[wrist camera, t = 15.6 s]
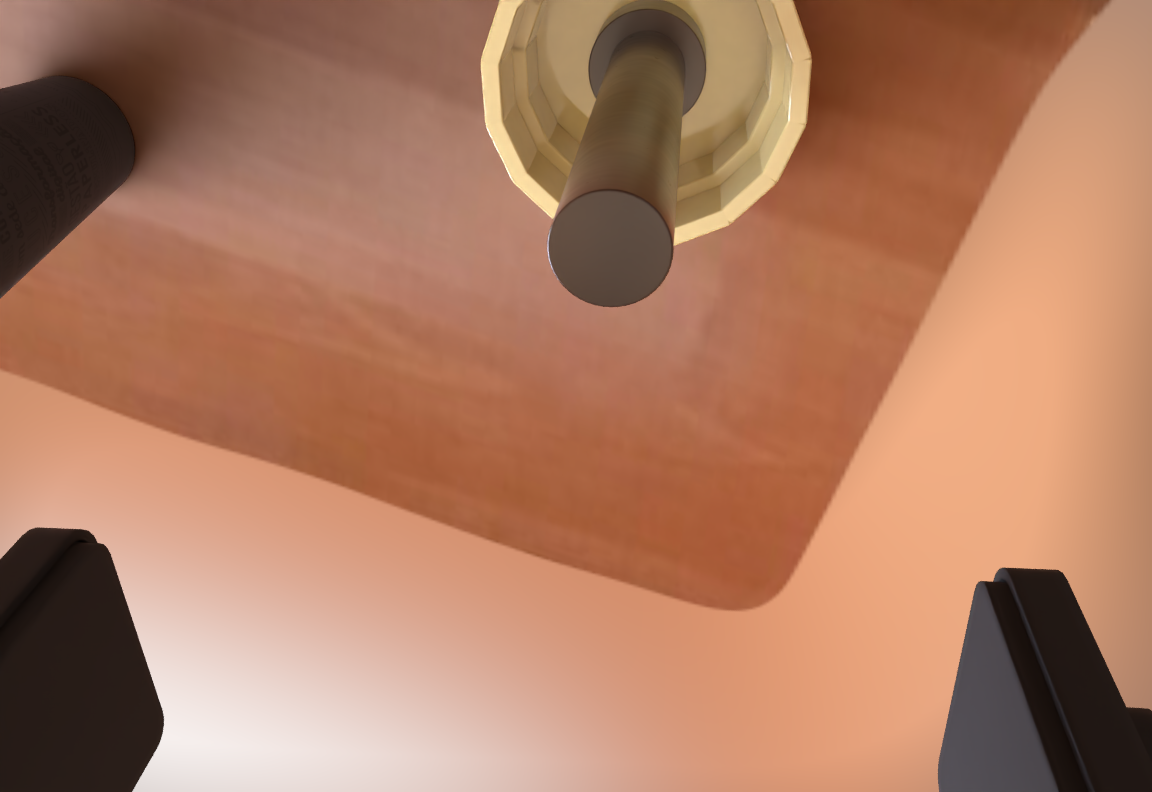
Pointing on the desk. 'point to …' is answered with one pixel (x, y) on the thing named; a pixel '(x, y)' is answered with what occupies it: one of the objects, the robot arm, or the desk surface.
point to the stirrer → (629, 156)
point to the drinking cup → (54, 165)
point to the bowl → (709, 130)
